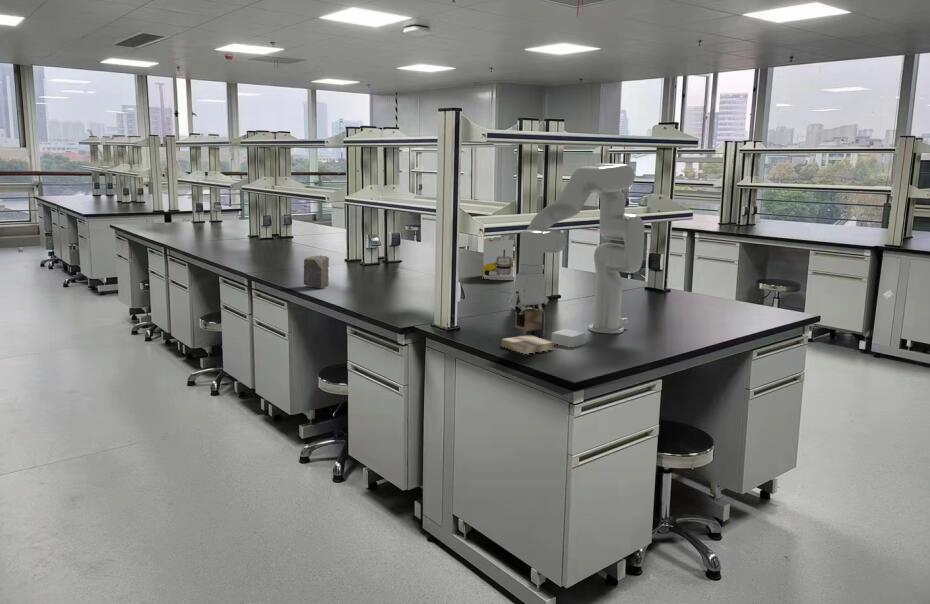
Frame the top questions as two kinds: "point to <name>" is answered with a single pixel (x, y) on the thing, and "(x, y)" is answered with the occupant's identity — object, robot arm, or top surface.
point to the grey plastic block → (568, 338)
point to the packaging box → (498, 257)
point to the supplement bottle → (540, 331)
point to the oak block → (527, 344)
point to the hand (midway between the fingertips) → (528, 324)
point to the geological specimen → (316, 271)
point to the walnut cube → (531, 319)
